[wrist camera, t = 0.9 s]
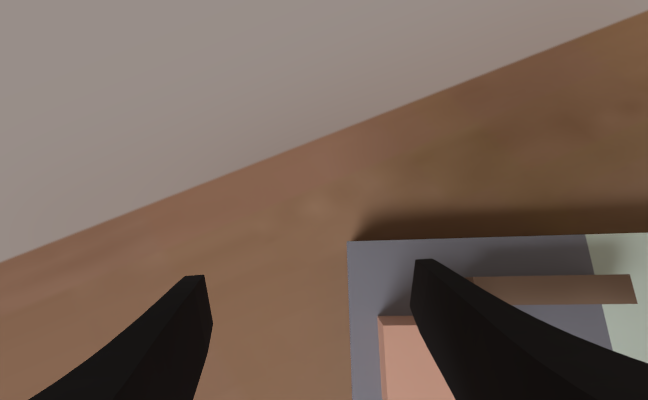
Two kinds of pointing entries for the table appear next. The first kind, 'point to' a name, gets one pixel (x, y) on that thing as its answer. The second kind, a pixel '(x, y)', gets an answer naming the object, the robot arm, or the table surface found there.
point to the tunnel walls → (560, 289)
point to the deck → (493, 261)
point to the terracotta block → (407, 363)
